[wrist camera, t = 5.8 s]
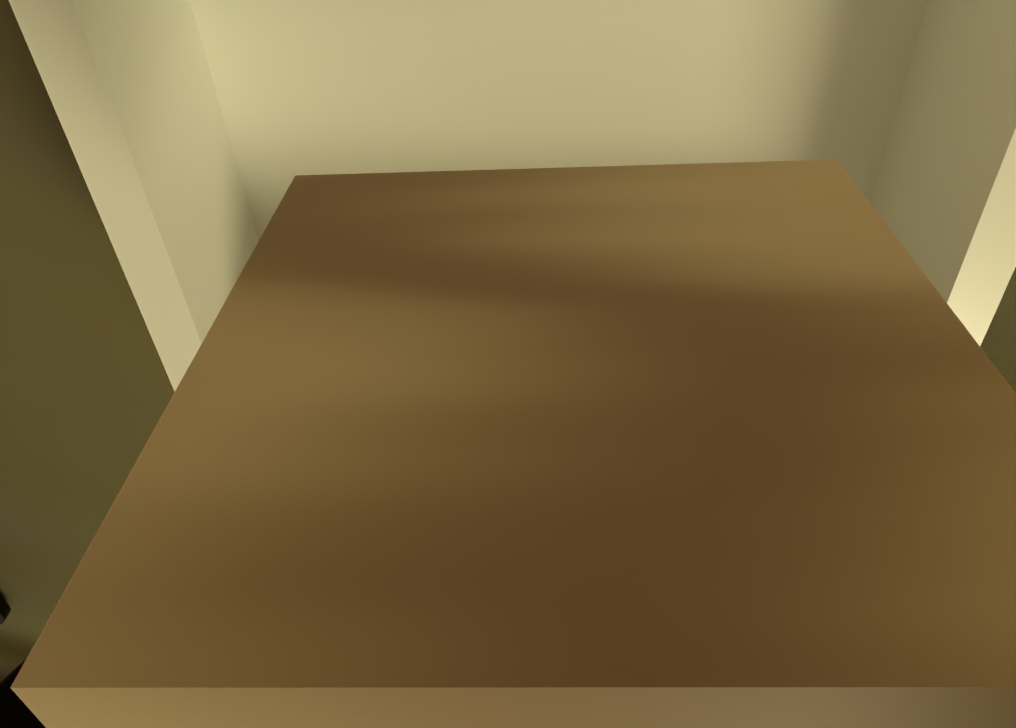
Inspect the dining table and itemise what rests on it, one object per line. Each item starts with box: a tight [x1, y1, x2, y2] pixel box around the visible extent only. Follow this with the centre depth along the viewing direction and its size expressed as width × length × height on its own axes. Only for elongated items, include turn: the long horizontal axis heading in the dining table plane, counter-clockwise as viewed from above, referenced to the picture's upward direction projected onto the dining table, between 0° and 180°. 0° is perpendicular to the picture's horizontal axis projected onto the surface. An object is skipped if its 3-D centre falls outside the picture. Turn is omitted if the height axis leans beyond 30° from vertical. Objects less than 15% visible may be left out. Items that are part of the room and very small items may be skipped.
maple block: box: [10, 159, 1016, 728], centre depth 7 cm, size 5×5×5 cm
